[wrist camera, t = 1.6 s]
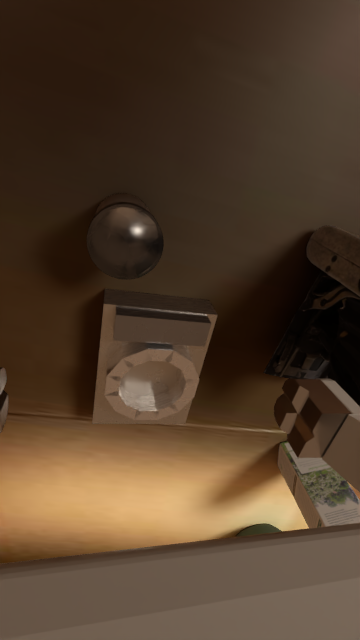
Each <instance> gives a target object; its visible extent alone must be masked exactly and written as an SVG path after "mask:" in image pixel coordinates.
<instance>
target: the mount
mask: <svg viewBox="0 0 360 640" xmlns="http://www.w3.org/2000/svg"><path fill="white" fill-rule="evenodd" d="M217 316H218V315H217V313H216V311H215V310H214V308H213V306H212V305H211V303H210V301H209V300H203V299H194V298H185V297H176V296H167V295H158V294H149V293H140V292H131V291H122V290H113V289H105V293H104V303H103V314H102V324H101V335H100V345H99V356H98V366H97V377H96V387H95V398H94V409H93V421H92V424H185V422H186V419H187V415H188V412H189V409H190V405H191V402H192V399H193V398H194V396H195V392H196V389H197V386H198V382H199V375H200V372H201V369H202V366H203V362H204V359H205V356H206V352H207V349H208V346H209V342H210V339H211V336H212V332H213V329H214V326H215V322H216V319H217Z"/></svg>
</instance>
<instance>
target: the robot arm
mask: <svg viewBox="0 0 360 640" xmlns="http://www.w3.org/2000/svg"><path fill="white" fill-rule="evenodd" d="M6 381H7V377H6V370H5V369H4V368H3V367H0V433H1V432H2V430H3V427H4V424H5V422H6V417H7V412H8V394H7V393H6V392H5V391H4V390H3V388H4V386H5V384H6ZM282 390H283V394H282V395H281V396H280V397H278V398H277V400H276V403H275V405H274V417H275V420H276V422H277V424H278V426H279V428H280V429H282V430H283V431H284V432H286V433H287V441H288V443H289V444H290V446H291V448H292V449H293V451H294V453H295V454H296V456H297V457H298V458H322V460H323V461H325V462H326V463H327V464H328V465H329V466H330V467H331V468H333V469H334V470H335V471H336V472H337V473H338V474H339V475H341V476H342V477H343V478H344V479H345V480H346V481H348V482H349V483H350V484H351V485H352V486H353V487H354V488H356V489H357V490H358V491H359V492H360V406H359V405H358V404H357V403H356V402H355V401H354V400H353V399H352V398H351V397H350V396H349V395H348V394H347V393H346V392H345V391H344V390H343V389H342V388H341V387H340V386H339V385H338V384H337V383H336V382H335V381H334V380H331V379H299V378H288V379H287V380H286V381H285V382H284V385H283V387H282ZM0 640H360V523H353V524H345V525H336V526H327V527H318V528H309V529H301V530H292V531H283V532H274V533H266V534H257V535H248V536H239V537H231V538H222V539H213V540H205V541H196V542H187V543H179V544H170V545H162V546H153V547H144V548H136V549H127V550H118V551H109V552H101V553H92V554H83V555H74V556H65V557H57V558H48V559H39V560H30V561H22V562H13V563H4V564H0Z"/></svg>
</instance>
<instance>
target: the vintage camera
mask: <svg viewBox="0 0 360 640" xmlns="http://www.w3.org/2000/svg"><path fill="white" fill-rule="evenodd" d="M306 250H307V258H308V259H309V260H310V262H311V263H312V264H314V265H315V266H317V267H318V268H320V269H321V272H320V274H319V275H318V277H317V279H316V280H315V282H314V283H313V285H312V287H311V289H310V290H309V292H308V294H307V297H306V299H305V300H304V302H303V303H302V305H301V306H300V307H299V309H298V310H297V312H296V314H295V316H294V317H293V319H292V321H291V323H290V325H289V327H288V328H287V330H286V332H285V334H284V336H283V338H282V340H281V341H280V343H279V345H278V347H277V349H276V350H275V352H274V354H273V356H272V358H271V360H270V362H269V363H268V365H267V367H266V369H265V371H264V373H266V374H269V375H274V376H279V377H285V378H299V379H331V380H334V381H335V382H336V383H337V384H338V385H339V386H340V387H341V388H342V389H343V390H344V391H345V392H346V393H347V394H348V395H349V396H350V397H351V398H352V399H353V400H354V401H355V402H356V403H357V404H358V405H359V406H360V236H359V235H356V234H354V233H351V232H348V231H346V230H343V229H340V228H338V227H335V226H329V225H328V226H323V227H321V228H319V229H318V230H316V231H315V232H314V233H313V234H312V236H311V237H310V239H309V241H308V244H307V247H306Z"/></svg>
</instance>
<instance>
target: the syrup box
mask: <svg viewBox="0 0 360 640" xmlns="http://www.w3.org/2000/svg"><path fill="white" fill-rule="evenodd" d="M277 465H278V468H279V470H280V472H281V473H282V475H283V477H284V479H285V481H286V483H287V485H288V487H289V489H290V491H291V493H292V494H293V496H294V498H295V500H296V503H297V505H298V507H299V509H300V511H301V513H302V515H303V517H304V519H305V521H306V523H307V525H308V527H309V528H318V527H327V526H336V525H345V524H353V523H360V500H359V499H358V497H357V496H356V494H355V493H354V491H353V490H352V488H351V487H350V485H349V484H348V483H347V481H346V480H345V479H344V478H343V477H342V476H341V475H339V474H338V473H337V472H336V471H335V470H334V469H333V468H331V467H330V466H329V465H328V464H327V463H326V462H325V461H323V460H322V458H298V457H297V456H296V454H295V453H294V451H293V449H292V448H291V446H290V444H289V443H288V441H287V442H283V443H280V446H279V453H278V463H277Z"/></svg>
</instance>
